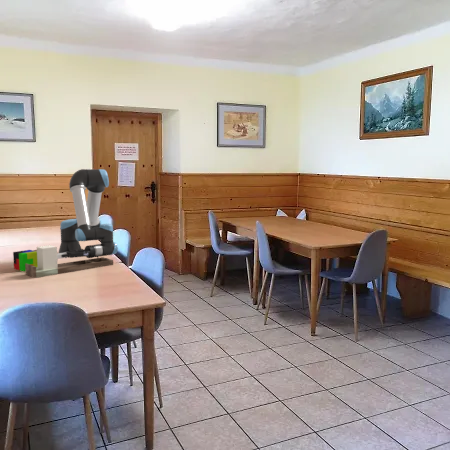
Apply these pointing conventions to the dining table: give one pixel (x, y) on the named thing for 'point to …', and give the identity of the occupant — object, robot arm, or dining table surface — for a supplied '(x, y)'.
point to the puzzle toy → (24, 259)
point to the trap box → (68, 267)
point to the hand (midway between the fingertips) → (55, 256)
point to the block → (47, 257)
